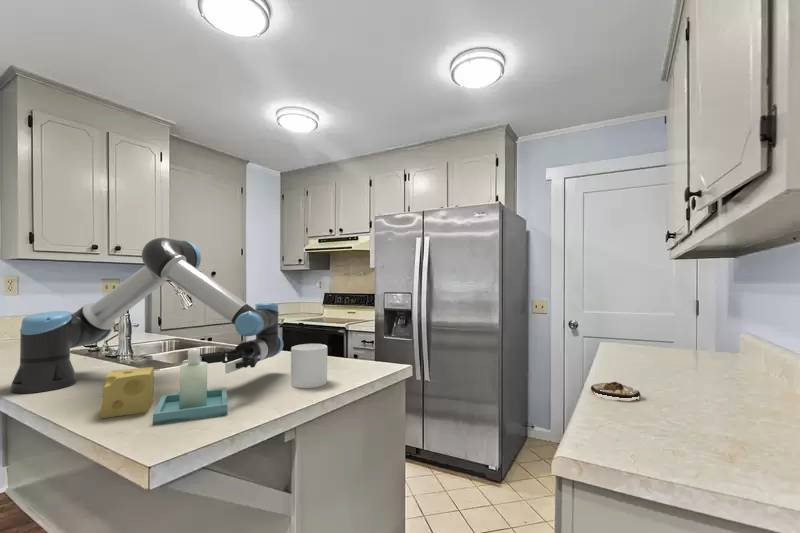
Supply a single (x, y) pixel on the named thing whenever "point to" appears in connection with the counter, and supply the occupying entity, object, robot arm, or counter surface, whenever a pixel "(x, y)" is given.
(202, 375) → the bottle
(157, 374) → the counter surface
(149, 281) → the robot arm
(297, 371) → the cup
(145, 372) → the cheese
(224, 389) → the teal rectangular tray
